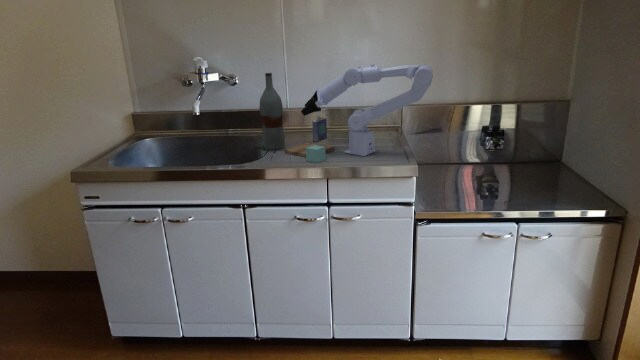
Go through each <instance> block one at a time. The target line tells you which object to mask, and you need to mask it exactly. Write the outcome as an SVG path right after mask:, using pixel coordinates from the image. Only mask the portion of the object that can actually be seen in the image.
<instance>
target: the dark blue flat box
mask: <svg viewBox="0 0 640 360" xmlns="http://www.w3.org/2000/svg"><path fill="white" fill-rule="evenodd" d="M327 121H328V119H327V117H325V116H322V117H321V115H316V119H315V120H313V121H312V143H317V142H321V141H324V140H325V138H326V139H328V129H327V127H328V126H327V125H328V124H327V123H328V122H327Z"/></svg>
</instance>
